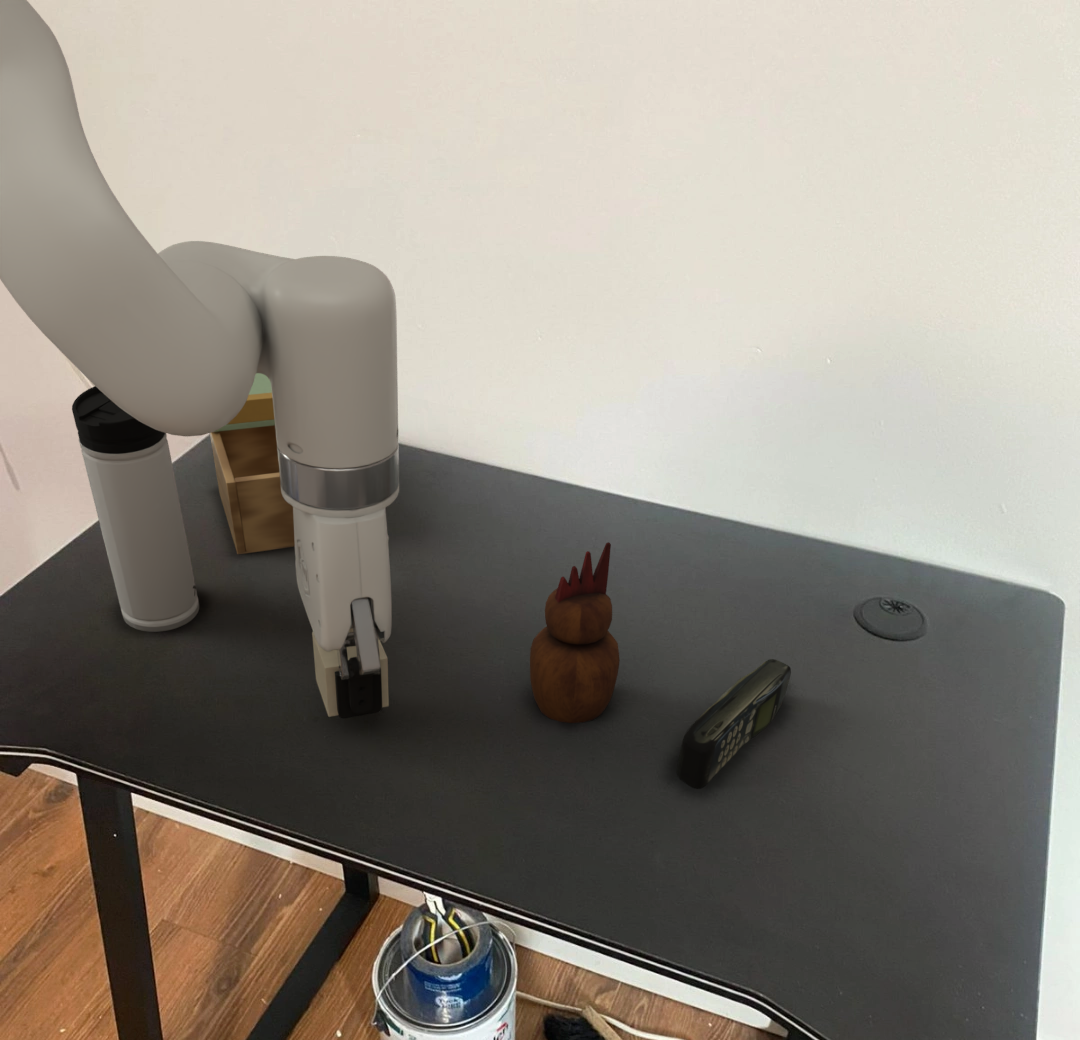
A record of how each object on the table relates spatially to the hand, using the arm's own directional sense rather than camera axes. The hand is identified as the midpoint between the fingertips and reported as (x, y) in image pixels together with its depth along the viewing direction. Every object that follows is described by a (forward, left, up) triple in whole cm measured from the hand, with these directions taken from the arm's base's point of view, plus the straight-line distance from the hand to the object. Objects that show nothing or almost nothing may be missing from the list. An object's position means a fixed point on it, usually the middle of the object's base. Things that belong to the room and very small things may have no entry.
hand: (351, 689), depth 80 cm
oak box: (+1, +32, -4) cm, 32 cm away
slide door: (+1, +42, +5) cm, 42 cm away
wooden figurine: (+17, -3, -4) cm, 17 cm away
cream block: (0, 0, 0) cm, 0 cm away
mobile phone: (+28, -10, -4) cm, 30 cm away
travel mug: (-12, +19, -4) cm, 23 cm away
